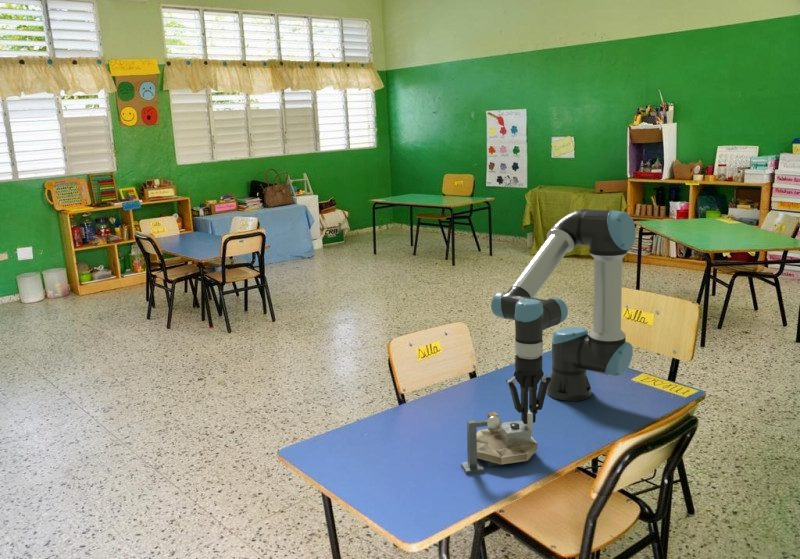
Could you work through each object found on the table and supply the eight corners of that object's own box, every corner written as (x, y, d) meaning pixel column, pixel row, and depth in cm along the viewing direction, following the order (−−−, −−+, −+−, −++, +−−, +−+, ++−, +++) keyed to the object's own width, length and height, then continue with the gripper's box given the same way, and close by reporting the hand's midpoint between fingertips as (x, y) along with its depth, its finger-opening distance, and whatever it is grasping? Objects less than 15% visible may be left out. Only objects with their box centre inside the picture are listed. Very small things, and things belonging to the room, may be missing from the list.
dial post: (496, 460, 187) (496, 410, 184) (503, 469, 183) (503, 418, 179) (460, 465, 185) (459, 415, 182) (466, 474, 180) (465, 422, 177)
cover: (521, 433, 195) (521, 418, 194) (530, 443, 188) (531, 428, 187) (498, 436, 194) (498, 421, 193) (507, 446, 187) (507, 431, 186)
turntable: (519, 430, 201) (519, 408, 200) (545, 458, 184) (545, 434, 183) (462, 438, 198) (462, 416, 196) (482, 467, 181) (482, 443, 179)
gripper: (544, 348, 191) (544, 425, 196) (501, 353, 189) (502, 430, 194) (556, 356, 184) (555, 435, 189) (511, 361, 182) (512, 441, 187)
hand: (528, 433), depth 192 cm, fingers closed
